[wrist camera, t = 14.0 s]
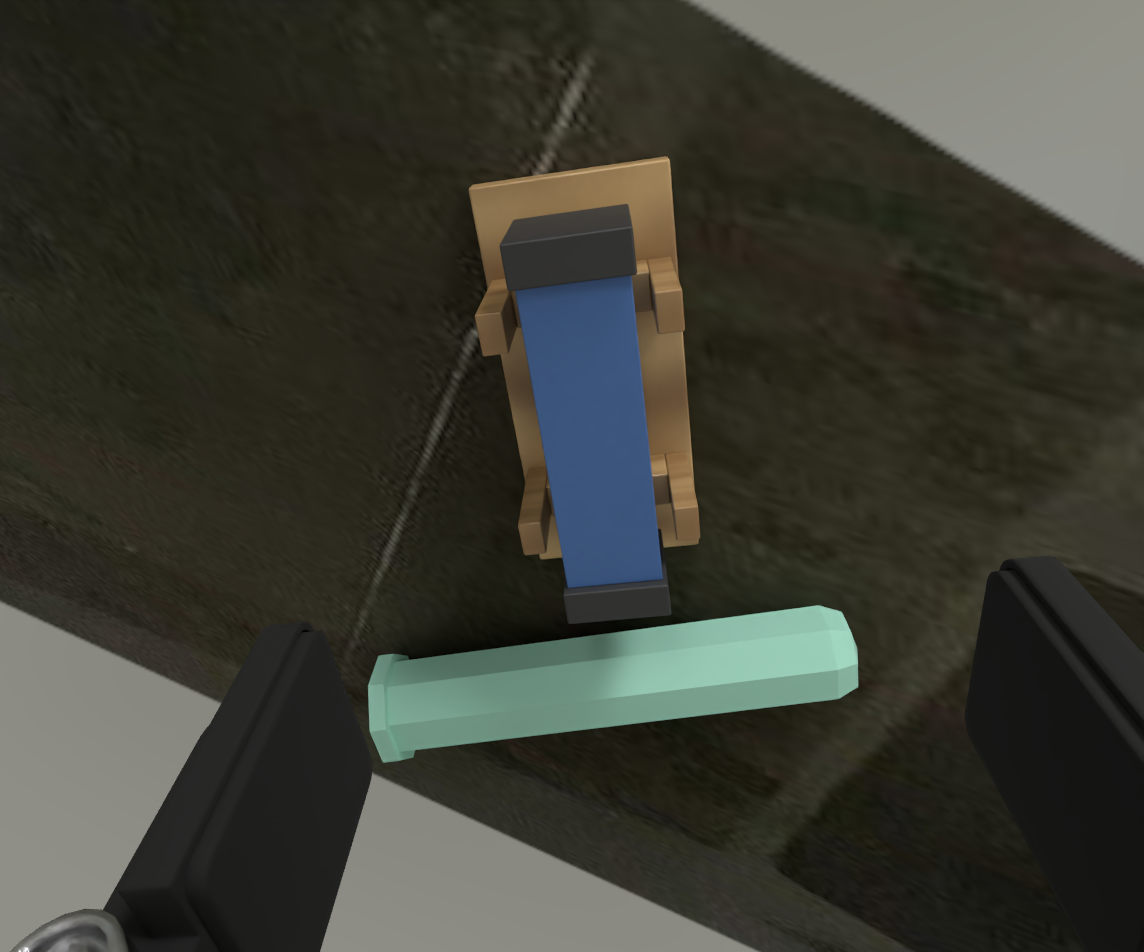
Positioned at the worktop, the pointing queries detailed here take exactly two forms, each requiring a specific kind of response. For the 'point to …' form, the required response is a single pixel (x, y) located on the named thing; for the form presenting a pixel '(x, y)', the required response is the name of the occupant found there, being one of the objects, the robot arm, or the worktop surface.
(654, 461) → the holder
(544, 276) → the handle
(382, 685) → the mint octagonal rod
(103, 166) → the worktop surface
